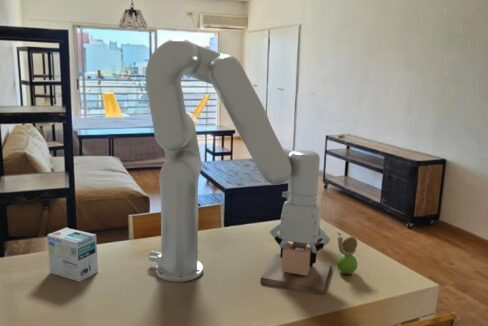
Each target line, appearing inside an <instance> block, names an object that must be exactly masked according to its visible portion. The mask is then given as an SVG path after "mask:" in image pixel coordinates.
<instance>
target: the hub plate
mask: <svg viewBox="0 0 488 326" xmlns="http://www.w3.org/2000/svg"><path fill="white" fill-rule="evenodd" d="M295 250H300V251H304V248H301V247H296V249H295ZM331 268H332V262H329V261H324V260H317V259H316V263H313V266H312V267H311V268H310V270H309V273H308V275H307V276H305V275H300V274H294V273H288V272H283V271H281V270H282V258H280V253H274V256H273V257H272V259H271V260H270V262H269V263H268V265H267V267H266V269H265V270H264V271H263V273H262V275H261V277H260V283H261V284H265V285H271V286H276V287H281V288H287V289H292V290H296V291H298V290H299V291H301V292H302V291H304V292H307V293H308V292H309V293H313V294H318V295H324V292H325V290H326V289H325V288H326V285H327V281H328V279H329V277H330V276H329V275H330V273H331V270H332V269H331Z"/></svg>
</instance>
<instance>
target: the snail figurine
mask: <svg viewBox="0 0 488 326" xmlns="http://www.w3.org/2000/svg"><path fill="white" fill-rule="evenodd" d="M341 235H342V234H341V232H337V241H338V243H337V245H338V250H339V252H340V256H338V258H337V260H336V261H337V262H336V266H337V268H338V270H339V271H340V273H342V274H345V275H350V274H352V273H354V272H355V271H357V268H358V260H357V258H356V257H355V256H354V255H353V254H354V253H356V251H357V250H356V249H357V247H358V240H357V239H356V238H355V237H354V236H348V237H346V238H343V237H342V236H341Z"/></svg>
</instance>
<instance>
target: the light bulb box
mask: <svg viewBox="0 0 488 326" xmlns="http://www.w3.org/2000/svg"><path fill="white" fill-rule="evenodd" d="M97 244H98V243H97V234H95V233H91V232H86V231H82V230H77V229H74V228H69V227H64V228H62V229H59V230H56V231H53V232H51V233H48V234H47V246H48V265H49V273H50V274H52V275H57V276H59V277H63V278H66V279H68V280H72V281H76V282H78V283H80V282H82V281H84V280H86V279H88V278H89V277H91V276H93V275H95V274H97V273H98V272H99V269H98V268H99V267H98V265H99V264H98V247H97Z"/></svg>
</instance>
